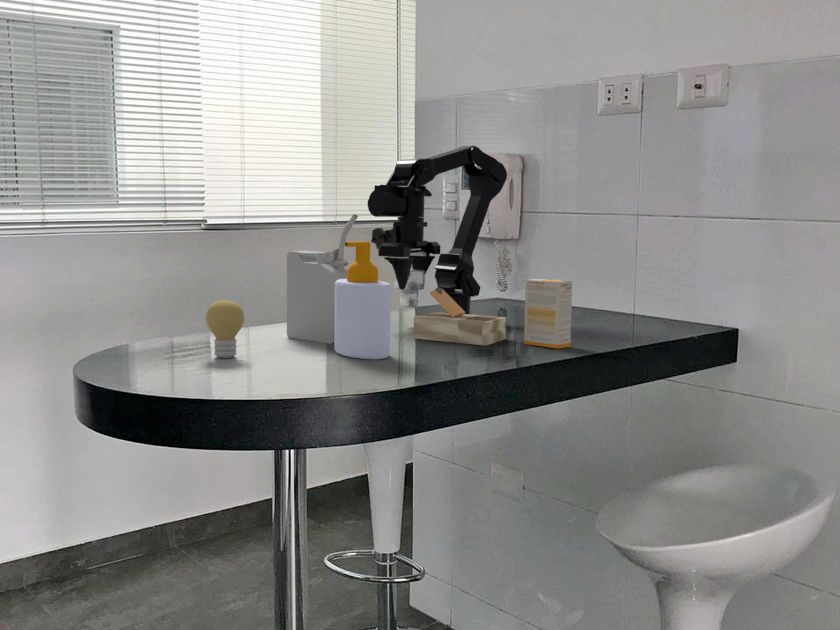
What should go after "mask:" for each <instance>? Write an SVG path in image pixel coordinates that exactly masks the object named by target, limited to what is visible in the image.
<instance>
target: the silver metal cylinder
mask: <svg viewBox="0 0 840 630" xmlns="http://www.w3.org/2000/svg"><path fill="white" fill-rule="evenodd" d="M425 275H426V274H425V270H415V269H413V268H411V270H410V273H409V277H408V280H407V283H406V286H405V289H400V288H399V285H398V282H397V278H396V275H395V274H394V289H395V290H400V291H399V292H400V294H399V297H400V298H399V300H400V301H399V305H400V306H399V307H400V308H418V307H419V291H420V290H425V280H426V278H425V277H426V276H425Z"/></svg>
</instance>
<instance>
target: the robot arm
mask: <svg viewBox="0 0 840 630" xmlns="http://www.w3.org/2000/svg"><path fill="white" fill-rule="evenodd" d="M461 167H462V170H463V172H464V175H465V174H466V176H468V178H469V179H468V187H469V191H470V196H469V199H468V202H467V205H466V207H465V210H464V213H463V216H462V219H461V221H460V224H459V228H458V229H457V233H456V236H455V239H454V241H453V244H452V247H451V249H450V250H449V251H448V252H447V253H444V252H441V245H440V243H438V241H428V240H424V238H425V237H424V230H425V227H426V228H427V227H428V221H425V197H426V198H427V197H432V195H433V193H432V192H431V191H430V190H429V189H428V188H427V187H426V185H427V184H428V183H430V182H432V181H433V180H434V179H435V177H436V176H438V175H440V174H443V173H446V172H448V171H452V170H455V169H458V168H461ZM507 178H508V173H507V169H506V167H505V165H504V164H503V163H502V162H499V161H498V159H496V158H495V157H494V156H491V155H489V154H487V153H486V152H483V151H482V150H481V148H479V147H478V146H476V145H462V146H459V147H458V148H456V149H452V150H448V151H445V152H442V153H439V154H436V155H432V156H430V157H429V156H428V157H426V158H425V157H424V158H406V159H400V160H398V161H396V163H395V167H394V170H393V171H392V173H391V175H390V176H389V178H388V179H387V182H386V184H374V189H373V191H371V193H370V194H369V197H368V199H367V208H368V212H369V213H370V215H372V216H373V217H376V218H382V217H383V218H387V217H388V218H390V217H391V218H397V220H396V221H395V220H394V221H393V224H392V228H390V229H386V230H385V229H383V227H377V228H374V229H372V231H371V232H372V233H371V240H370V243H372V244H375V247H376V250H377V255H378V257H383V258H384V260H385V261H387V262H388V263H390V264H391V266H392V268H393V271H394V276H395V275H396V278H397V282H398V285H399V288H400V289H405V286H406V283H407V280H408V277H409V273H410V270H411V269H415V270H425V275H426V274H427V271H428V269H429V268H430V266H431V264H432V262H433V260H434V259H435V258H436V255H439V256H438V257H439V258H438V260H437V263H436V265H435V266H434V270H435V272H434V279H435V281H436V284H437V285H436V287H440V288H441V289H443V290H444V291H445V292H446V293H447V294H448V295H449V296H450V297H451V298H452V299H453V300H454V301H455V302H456V303H457V304H458V305H459V306H460V307H461V308H462V309H463V310H464V311H465V313H464V314H471V309H472V308H471V307H472V306H471V304H472V303H471V302H472V299H471V298H472V297H478V296H479V294H480V291H481V286H480V284H479V282H478V281H477V280H476V279H475V277H474V270H475V264H474V260H473V253H474V250H475V248H476V245H477V241H478V239H479V236H480V233H481V231H482V227H483V223H484V221H485V219H486V215H487V212H488V210H489V206H490V203H491V202H492V200H493V199H495V198H496V197H497V195H499V194H500V192H501V191H502V190H503V188H504V185H505V184H506V181H507ZM431 254H432V255H431ZM400 289H399V290H400ZM445 312H446V313H448V312H447V311H446V310H445Z"/></svg>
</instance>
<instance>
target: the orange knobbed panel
mask: <svg viewBox="0 0 840 630" xmlns="http://www.w3.org/2000/svg"><path fill="white" fill-rule="evenodd" d="M429 295H430V296H431V297H432V298H433V299H434V300H435V301H436V302H437V304H439V305H440V306H441V308H443V309H444V310H445V312H446V311H447V312H448V313H449V314H450V315H451V316H452V317H457V316H461V315H464V313H465V311H464V310H463V309H462V308H461V307H460V306H459V305H458V304H457V303H456V302H455V301H454V300H453V299H452V298H451V297H450V296H449V295H448V294H447V293H446V292H445V291H444V290H443V289H441V288H440V287H438V286H436V287H435V289H434V290H431V291H430V292H429Z"/></svg>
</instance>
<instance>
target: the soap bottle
mask: <svg viewBox="0 0 840 630" xmlns="http://www.w3.org/2000/svg"><path fill="white" fill-rule="evenodd" d="M353 247H354V248H355V261H354V262H351V263H350V265H349V266H348V267H347V269H346V270H347V279H339V280H337V281H335V319H334V344H333V345H334V346H333V348H334V352H335V353H336V354H338V355H341V356H343V357H349V358H352V359H358V358H359V360H361V359H362V360H369V361H370V360H373V361H374V360H384V359H388V357H389V356H390V354H391V302H392V299H391V297H392V295H391V294H392V293H391V292H392V285H391V283H389V282H386V281H382V280H379V271H378V267H377V266H376V265H375V264H374V263H372V262H371V241H345V245H344V248H353Z"/></svg>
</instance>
